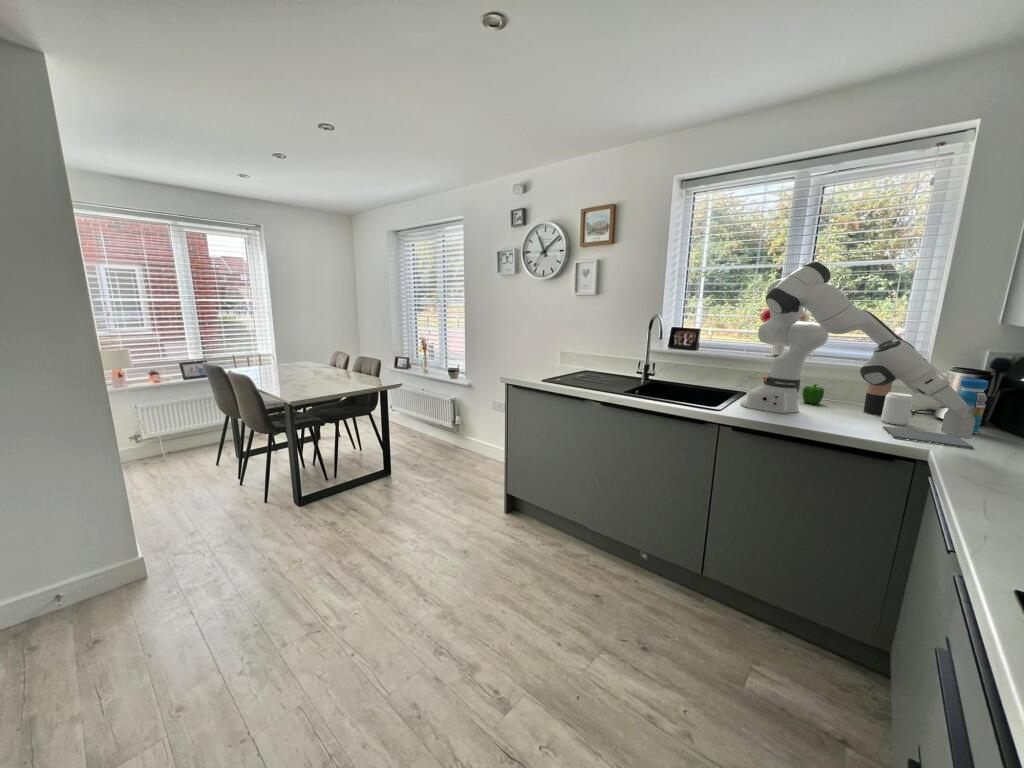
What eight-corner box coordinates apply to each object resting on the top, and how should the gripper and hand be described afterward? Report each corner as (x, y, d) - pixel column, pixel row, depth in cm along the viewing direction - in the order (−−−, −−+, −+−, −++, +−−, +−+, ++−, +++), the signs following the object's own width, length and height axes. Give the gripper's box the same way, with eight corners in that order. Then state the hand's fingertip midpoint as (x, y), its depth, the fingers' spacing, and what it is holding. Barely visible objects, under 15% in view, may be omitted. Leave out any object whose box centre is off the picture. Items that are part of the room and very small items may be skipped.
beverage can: (913, 426, 160) (919, 397, 157) (889, 425, 161) (895, 395, 159) (898, 421, 168) (904, 392, 165) (875, 419, 169) (881, 391, 167)
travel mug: (866, 414, 178) (876, 368, 173) (859, 409, 184) (868, 366, 180) (888, 416, 175) (898, 370, 171) (880, 411, 182) (890, 367, 178)
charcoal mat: (893, 438, 145) (894, 436, 145) (882, 428, 157) (883, 426, 157) (973, 449, 136) (973, 446, 135) (954, 437, 148) (955, 435, 147)
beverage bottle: (947, 431, 155) (960, 379, 151) (944, 426, 162) (956, 376, 158) (980, 436, 150) (994, 382, 146) (976, 430, 156) (989, 379, 152)
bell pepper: (801, 400, 201) (805, 380, 199) (822, 403, 196) (826, 382, 194) (800, 403, 195) (803, 382, 193) (821, 406, 190) (825, 385, 188)
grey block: (956, 438, 128) (963, 407, 126) (940, 431, 135) (946, 401, 132) (971, 438, 127) (978, 408, 125) (954, 431, 134) (961, 402, 132)
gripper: (903, 380, 142) (936, 411, 140) (925, 393, 125) (963, 428, 122) (923, 369, 139) (957, 400, 137) (949, 380, 122) (988, 415, 119)
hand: (960, 413), depth 129 cm, fingers closed on grey block, 7 cm apart
